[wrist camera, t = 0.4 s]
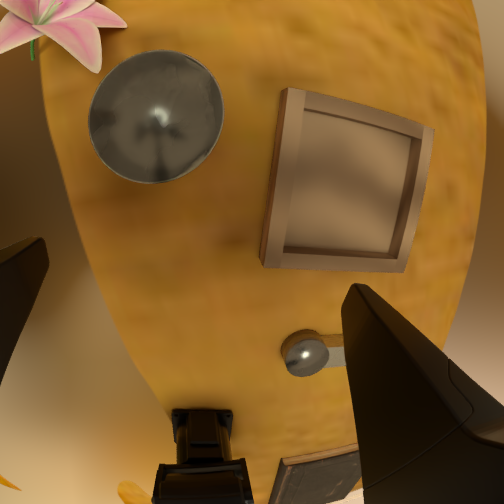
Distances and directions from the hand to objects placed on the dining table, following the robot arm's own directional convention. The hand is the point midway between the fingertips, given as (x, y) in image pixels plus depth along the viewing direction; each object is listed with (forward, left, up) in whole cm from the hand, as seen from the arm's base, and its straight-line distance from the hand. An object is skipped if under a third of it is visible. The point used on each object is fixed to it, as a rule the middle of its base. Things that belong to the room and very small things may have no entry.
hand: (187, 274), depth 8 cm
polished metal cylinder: (+4, +2, -14) cm, 15 cm away
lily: (+12, +11, -14) cm, 22 cm away
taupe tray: (+1, -11, -14) cm, 18 cm away
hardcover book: (-46, -21, -15) cm, 53 cm away
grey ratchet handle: (-14, -16, -14) cm, 26 cm away
